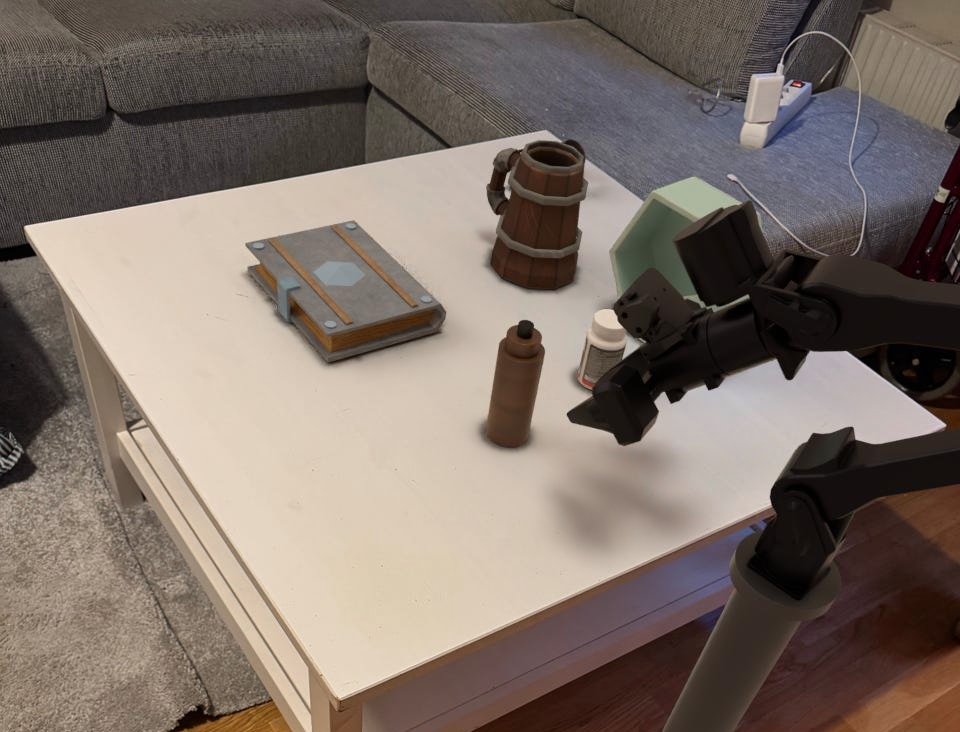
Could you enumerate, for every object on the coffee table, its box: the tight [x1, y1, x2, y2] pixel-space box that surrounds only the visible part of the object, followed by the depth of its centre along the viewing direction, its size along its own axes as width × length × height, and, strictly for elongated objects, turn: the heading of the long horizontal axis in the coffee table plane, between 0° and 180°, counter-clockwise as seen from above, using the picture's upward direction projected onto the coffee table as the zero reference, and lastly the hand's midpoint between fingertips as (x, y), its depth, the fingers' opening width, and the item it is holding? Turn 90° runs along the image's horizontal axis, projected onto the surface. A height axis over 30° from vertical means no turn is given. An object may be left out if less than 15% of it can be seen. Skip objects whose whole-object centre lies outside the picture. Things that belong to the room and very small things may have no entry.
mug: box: [485, 139, 589, 290], centre depth 120 cm, size 16×12×15 cm
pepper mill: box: [485, 319, 546, 448], centre depth 97 cm, size 5×5×14 cm
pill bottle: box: [577, 308, 628, 391], centre depth 107 cm, size 5×5×8 cm
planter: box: [609, 175, 764, 344], centre depth 111 cm, size 17×8×21 cm
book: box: [244, 219, 447, 363], centre depth 112 cm, size 21×16×5 cm
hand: (590, 395), depth 93 cm, fingers open, 9 cm apart
